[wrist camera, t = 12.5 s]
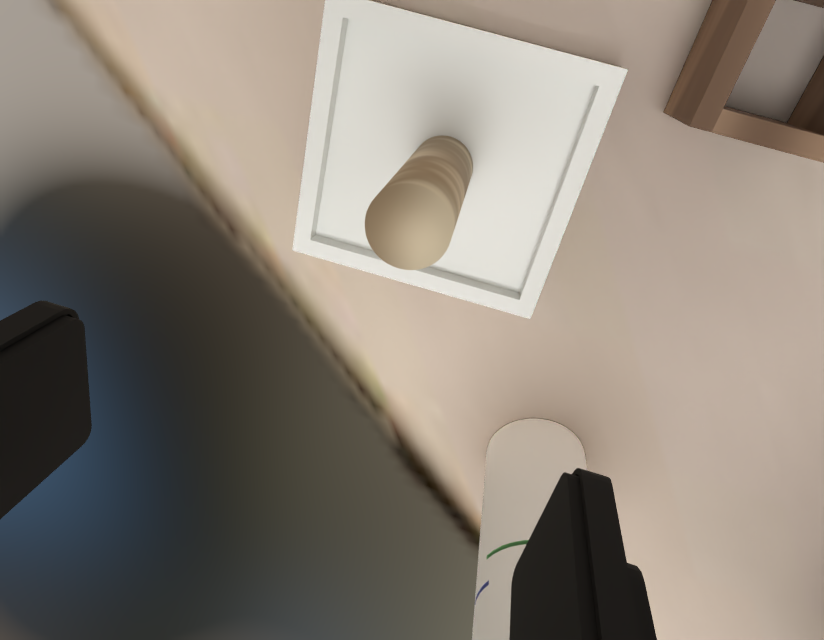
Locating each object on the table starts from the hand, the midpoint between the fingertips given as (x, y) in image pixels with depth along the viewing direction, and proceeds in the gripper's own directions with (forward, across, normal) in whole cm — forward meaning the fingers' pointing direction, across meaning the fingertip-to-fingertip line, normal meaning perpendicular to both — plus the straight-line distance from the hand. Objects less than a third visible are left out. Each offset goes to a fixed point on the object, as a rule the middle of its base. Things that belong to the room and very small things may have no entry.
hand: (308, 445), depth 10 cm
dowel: (+23, +1, 0) cm, 23 cm away
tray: (+25, +1, 0) cm, 25 cm away
